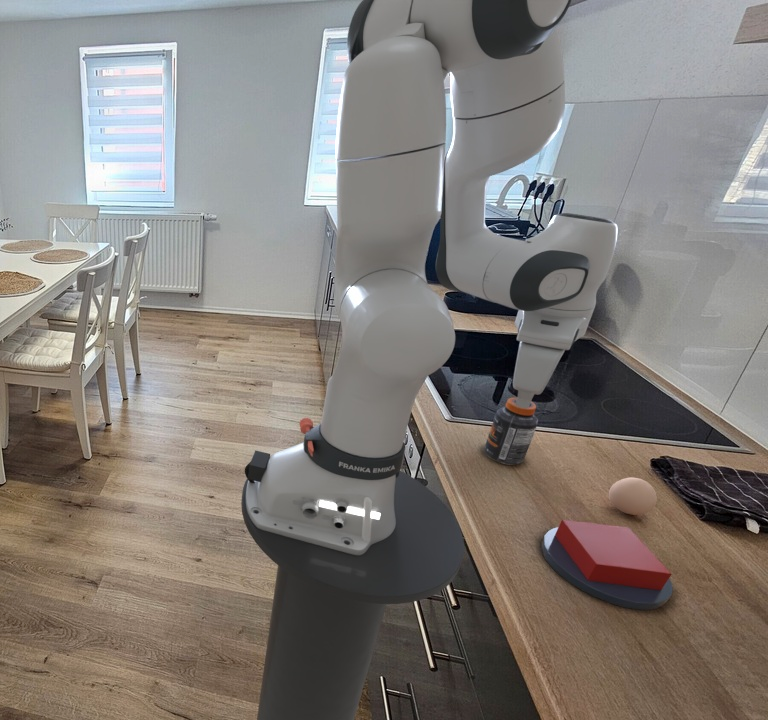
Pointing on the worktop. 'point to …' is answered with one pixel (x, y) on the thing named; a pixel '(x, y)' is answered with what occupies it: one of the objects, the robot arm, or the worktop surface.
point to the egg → (633, 496)
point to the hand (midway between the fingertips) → (526, 394)
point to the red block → (612, 555)
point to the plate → (603, 591)
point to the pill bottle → (511, 433)
